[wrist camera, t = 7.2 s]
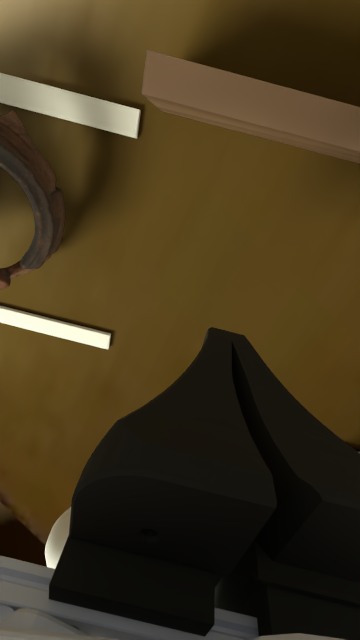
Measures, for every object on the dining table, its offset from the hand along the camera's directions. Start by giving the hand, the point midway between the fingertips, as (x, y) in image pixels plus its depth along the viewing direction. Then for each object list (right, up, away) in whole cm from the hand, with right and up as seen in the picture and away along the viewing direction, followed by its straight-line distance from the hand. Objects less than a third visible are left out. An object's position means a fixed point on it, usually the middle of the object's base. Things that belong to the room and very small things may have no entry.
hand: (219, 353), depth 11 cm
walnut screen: (+3, +11, +3) cm, 11 cm away
